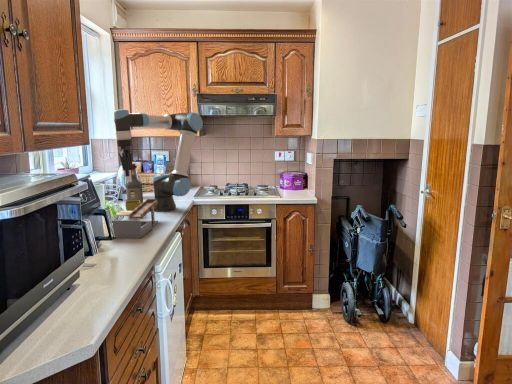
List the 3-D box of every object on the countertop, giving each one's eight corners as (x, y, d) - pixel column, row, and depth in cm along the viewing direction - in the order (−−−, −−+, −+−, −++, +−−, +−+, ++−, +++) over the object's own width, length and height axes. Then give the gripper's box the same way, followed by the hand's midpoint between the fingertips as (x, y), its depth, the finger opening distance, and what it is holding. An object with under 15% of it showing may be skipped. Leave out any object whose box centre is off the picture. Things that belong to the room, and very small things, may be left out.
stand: (137, 222, 206) (136, 206, 204) (158, 222, 205) (157, 206, 203) (132, 226, 198) (130, 209, 197) (153, 226, 197) (152, 209, 196)
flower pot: (126, 215, 225) (124, 201, 223) (140, 213, 228) (139, 199, 226) (126, 218, 217) (125, 203, 215) (141, 216, 220) (140, 202, 218)
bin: (124, 229, 192) (123, 213, 191) (152, 229, 191) (151, 213, 190) (111, 238, 178) (109, 220, 176) (141, 238, 176) (139, 220, 175)
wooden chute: (132, 206, 213) (131, 198, 212) (158, 206, 212) (157, 198, 211) (114, 221, 190) (112, 212, 189) (143, 222, 189) (142, 213, 188)
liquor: (130, 207, 247) (127, 163, 242) (144, 206, 248) (141, 163, 243) (126, 210, 238) (123, 164, 233) (141, 209, 239) (137, 164, 234)
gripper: (122, 138, 202) (127, 179, 207) (112, 139, 189) (117, 184, 194) (135, 137, 201) (139, 179, 206) (126, 139, 189) (131, 183, 194)
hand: (129, 181), depth 200 cm, fingers closed
